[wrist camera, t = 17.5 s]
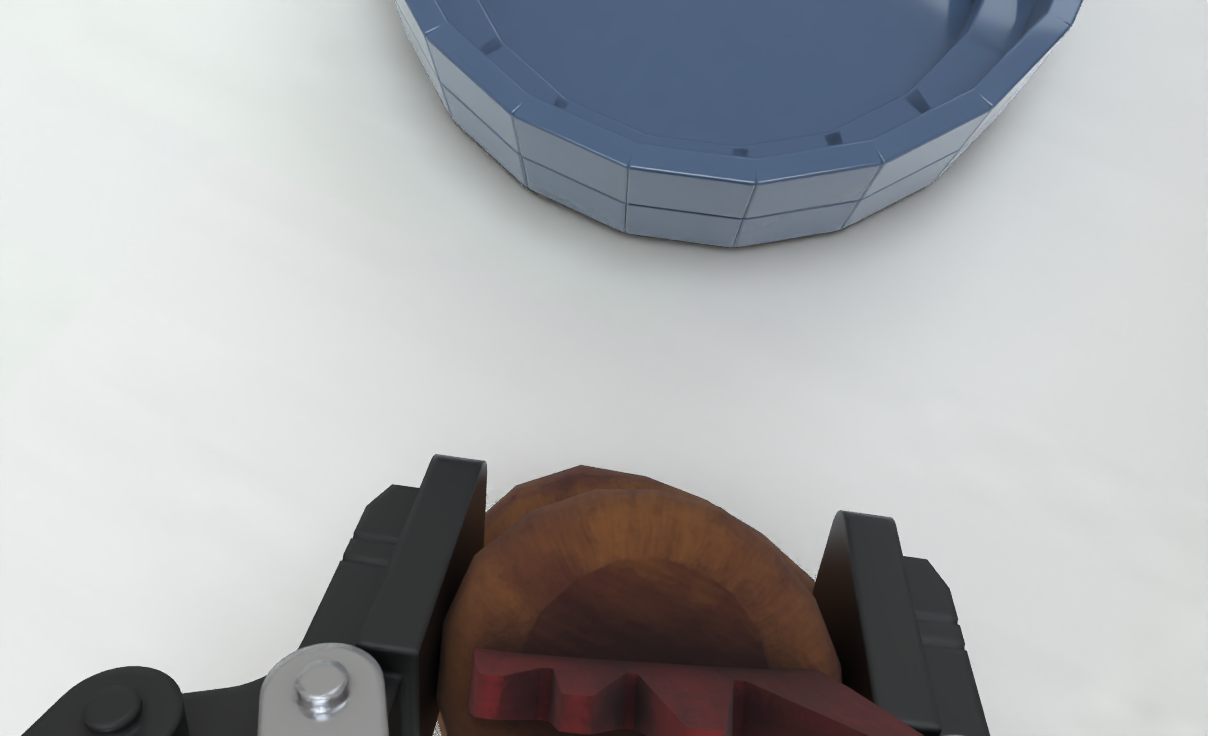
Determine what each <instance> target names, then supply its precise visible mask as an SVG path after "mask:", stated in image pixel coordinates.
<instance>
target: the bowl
mask: <svg viewBox="0 0 1208 736" xmlns="http://www.w3.org/2000/svg"><path fill="white" fill-rule="evenodd" d="M394 1H395V4H396V7H397V9H398V12H399V15H400V18H401V20H402V23H403V26H404V29H405V31H406V34H407V37H408V39H409V41H410V42H411V44H412V46H413V48H414V50H415V52H416V54H417V55H418V57H419V59H420V61H421V63H422V65H423V67H424V69H425V70H426V72H427V74H428V76H429V78H430V80H431V82H432V83H433V85H434V87H435V89H436V91H437V93H438V95H439V96H440V98H441V100H442V102H443V104H444V106H445V108H446V109H447V111H448V113H449V115H450V116H451V117H452V118H453V120H454V121H455V122H456V123H457V124H458V125H459V126H460V127H461V128H462V129H463V130H464V131H465V132H466V133H468V134H469V135H470V136H471V137H472V138H473V139H474V140H475V141H476V142H477V143H478V144H479V145H481V146H482V147H483V148H484V149H485V150H486V151H487V152H488V153H489V154H490V155H491V156H493V157H494V158H495V159H496V160H497V161H498V162H499V163H500V164H501V165H502V166H503V167H504V168H506V169H507V170H508V171H509V172H510V173H511V174H512V175H513V176H514V177H515V178H516V179H517V180H519V181H520V182H521V183H522V184H523V185H524V186H526V187H527V186H528V188H529V189H530V190H532V191H534V192H537V193H539V194H541V195H543V196H545V197H547V198H550V199H552V200H554V201H556V202H558V203H560V204H563V205H565V206H567V207H569V208H571V209H573V210H576V211H578V212H580V213H582V214H584V215H586V216H588V217H591V218H593V219H595V220H597V221H599V222H601V223H604V224H606V225H608V226H610V227H612V228H614V229H617V230H619V231H622V232H624V231H625V232H626V233H627V234H634V235H641V236H649V237H656V238H664V239H671V240H679V241H686V242H694V243H701V244H708V245H716V246H723V247H733V246H734V247H736V248H737V247H743V246H749V245H755V244H761V243H767V242H773V241H779V240H785V239H791V238H797V237H803V236H809V235H815V234H821V233H827V232H833V231H838V230H840V229H844V228H846V227H848V226H850V225H852V224H854V223H856V222H858V221H860V220H862V219H864V218H866V217H867V216H869V215H871V214H873V213H875V212H877V211H879V210H881V209H883V208H885V207H887V206H889V205H891V204H893V203H895V202H897V201H899V200H901V199H902V198H904V197H906V196H908V195H910V194H912V193H914V192H916V191H918V190H920V189H922V188H924V187H926V186H928V185H930V184H932V183H933V182H934V181H936V180H937V179H938V178H939V177H940V176H941V175H942V174H943V173H944V172H945V170H946V169H947V168H948V167H949V166H950V165H951V164H952V163H953V162H954V161H955V160H956V159H957V158H958V157H959V156H960V155H961V154H962V153H963V152H964V151H965V150H966V149H967V148H968V147H969V145H970V144H971V143H972V142H973V141H974V140H975V139H976V138H977V137H978V136H979V135H980V134H981V133H982V132H983V131H984V130H985V129H986V128H987V127H988V126H989V125H990V124H991V123H992V122H993V120H994V119H995V118H996V117H997V116H998V115H999V114H1000V113H1001V112H1002V111H1003V110H1004V108H1005V107H1006V106H1007V105H1008V104H1009V102H1010V101H1011V100H1012V99H1013V98H1014V96H1015V95H1016V94H1017V93H1018V92H1019V90H1020V89H1021V88H1022V87H1023V86H1024V84H1025V83H1026V82H1027V81H1028V79H1029V78H1030V77H1031V76H1032V74H1033V73H1034V72H1035V71H1036V70H1037V68H1038V67H1039V66H1040V65H1041V64H1042V62H1043V61H1044V60H1045V59H1046V58H1047V56H1048V55H1049V54H1050V53H1051V52H1052V50H1053V49H1054V48H1055V47H1056V45H1057V44H1058V43H1059V42H1060V41H1061V39H1062V38H1063V37H1064V36H1065V35H1066V33H1067V32H1068V31H1069V29H1070V28H1071V27H1072V25H1073V23H1074V21H1075V19H1076V16H1077V14H1078V12H1079V9H1080V7H1081V5H1082V2H1083V0H394Z"/></svg>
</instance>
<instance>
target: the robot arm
mask: <svg viewBox="0 0 1208 736" xmlns="http://www.w3.org/2000/svg"><path fill="white" fill-rule="evenodd" d="M486 485H487V464H486V461H481V460H474V459H467V458H460V457H453V456H446V455H439V454H435V455H434V456H433V458H432V460H431V462H430V464H429V467H428V469H427V471H426V474H425V476H424V479H423V481H422V484H421V486H420V488H415V487H408V486H401V485H394V484H392V485H391V486H390V487H389V488H387V489H386V490H385V491H384V492H383V493H381V494H380V495H379V496H378V497H377V498H375V499H374V500H373V501H372V502H371V503H370V504H368V505H367V506H366V508H365V510H364V512H363V514H362V517H361V519H360V521H359V523H358V525H357V527H356V529H355V531H354V536H353V539H352V538H351V540H350V542H349V544H348V546H347V548H346V550H345V552H344V555H343V560H342V561H340V563H339V565H338V567H337V569H336V571H335V574H334V576H333V578H332V580H331V582H330V584H329V586H328V588H327V590H326V593H325V595H324V597H323V599H322V601H321V603H320V605H319V607H318V609H317V612H316V614H315V616H314V618H313V620H312V622H311V624H310V626H309V628H308V631H307V633H306V635H305V637H304V639H303V641H302V643H301V644H300V646H299V648H298V649H297V651H295V652H293V653H291V654H289V655H288V656H286V657H285V658H283V659H282V660H281V661H280V662H278V663H277V664H276V665H275V666H274V667H273V668H272V670H271V671H270V672H269V673H268V675H266V676H265V677H262V678H260V679H258V680H255V681H253V682H250V683H247V684H243V685H240V686H235V687H229V688H222V689H214V690H207V691H199V692H191V693H183V694H182V693H181V691H180V688H179V686H178V685H177V684H176V682H175V681H174V680H173V679H172V678H171V677H170V676H168V675H167V674H165V673H163V672H161V671H159V670H156V669H153V668H149V667H141V666H127V667H120V668H115V669H111V670H107V671H104V672H101V673H98V674H96V675H93V676H91V677H89V678H87V679H85V680H83V681H82V682H80V683H79V684H77V685H76V686H74V687H73V688H71V689H70V690H69V691H68V692H67V693H65V694H64V695H63V696H62V697H61V698H60V699H59V700H58V701H57V702H56V703H55V704H54V705H53V706H52V707H51V708H50V709H48V710H47V711H46V712H45V713H44V714H43V715H42V716H41V717H40V718H39V719H38V720H37V721H36V722H35V723H34V724H33V725H32V726H31V727H30V728H29V729H28V730H27V731H26V732H25V733H23V734H22V735H21V736H432V735H433V732H434V729H435V725H436V722H437V718H438V715H439V712H440V708H439V705H438V702H437V698H436V694H437V683H438V672H439V661H440V650H441V639H442V628H443V620H444V618H445V616H446V614H447V612H448V610H449V608H450V606H451V603H452V601H453V599H454V597H455V595H456V593H457V591H458V589H459V587H460V585H461V582H462V580H463V578H464V576H465V574H466V572H467V570H468V568H469V566H470V563H471V561H472V559H473V557H474V555H475V554H476V553H478V552H479V551H480V550H481V549H483V548H484V532H485V509H486ZM812 595H813V596H814V597H815V599H816V601H817V604H818V607H819V609H820V612H821V614H822V617H823V620H824V622H825V625H826V627H827V630H828V633H829V635H830V638H831V640H832V643H833V646H834V648H835V651H836V653H837V656H838V659H839V661H840V664H841V666H842V684H844V685H845V686H847V687H849V688H850V689H852V690H854V691H855V692H857V693H858V694H860V695H861V696H863V697H864V698H866V699H868V700H869V701H871V702H872V703H874V704H875V705H877V706H879V707H880V708H882V709H883V710H885V711H886V712H888V713H889V714H891V715H893V716H894V717H896V718H897V719H899V720H900V721H902V722H904V723H905V724H907V725H908V726H910V727H911V728H913V729H914V730H916V731H918V732H919V733H921V734H922V735H924V736H990V734H989V730H988V726H987V723H986V719H985V716H984V712H983V708H982V705H981V701H980V697H979V694H978V690H977V686H976V683H975V679H974V675H973V672H972V668H971V665H970V661H969V657H968V654H967V651H966V650H964V646H965V643H964V639H963V635H962V632H961V628H960V625H958V624H957V622H958V617H957V614H956V610H955V606H954V603H953V599H952V595H951V592H950V588H949V587H948V586H947V585H946V583H945V582H944V581H943V579H942V578H941V577H940V575H939V574H938V573H937V572H936V570H935V569H934V568H933V566H932V565H931V564H930V563H929V561H928V560H927V559H920V558H913V557H906V556H903V554H902V550H901V546H900V541H899V537H898V532H897V528H896V524H895V521H894V520H893V518H891V517H884V516H877V515H870V514H863V513H856V512H849V511H842V510H840V511H838V512H837V514H836V515H835V518H834V521H833V524H832V527H831V530H830V534H829V537H828V541H827V544H826V548H825V551H824V554H823V558H822V561H821V565H820V568H819V571H818V575H817V578H816V582H815V585H814V589H813V593H812Z"/></svg>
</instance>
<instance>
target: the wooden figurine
mask: <svg viewBox="0 0 1208 736" xmlns="http://www.w3.org/2000/svg"><path fill="white" fill-rule="evenodd" d="M814 585H815V582H814V580H813V579H812V578H811V577H810V576H809V575H808V574H807V573H805V572H804V571H803V570H802V569H801V568H800V567H799V566H798V565H797V564H795V563H794V562H793V561H792V560H791V559H790V558H789V557H788V556H787V555H785V554H784V553H783V552H782V551H781V550H780V549H779V548H778V547H777V546H775V545H774V544H773V543H772V542H771V541H770V540H769V539H768V538H767V537H765V536H764V535H763V534H762V533H760V532H759V531H757V530H755V529H754V528H752V527H750V526H749V525H747V524H745V523H744V522H742V521H740V520H739V519H737V518H735V517H734V516H732V515H730V514H729V513H727V512H726V511H725V510H723V509H722V508H720V507H718V506H715V505H714V504H712V503H710V502H709V501H707V500H705V499H702V498H700V497H697V496H695V495H692V494H690V493H687V492H684V491H682V490H679V489H677V488H674V487H672V486H669V485H666V484H664V483H661V482H659V481H656V480H654V479H651V478H648V477H646V476H640V475H635V474H629V473H623V472H618V471H612V470H606V469H601V468H595V467H589V466H583V465H580V466H577V467H573V468H570V469H567V470H564V471H561V472H558V473H554V474H551V475H548V476H545V477H542V478H539V479H535V480H532V481H529V482H526V483H523V484H520V485H516V486H515V487H514V488H513V489H512V490H511V491H510V492H509V493H507V494H506V495H505V496H504V497H503V498H502V499H501V500H499V501H498V502H497V503H496V504H495V505H494V506H493V507H491V508H490V509H489V510H488V511H487V512H486V513H485V532H484V548H483V549H481V550H480V551H479V552H478V553H476V554H475V555H474V557H473V559H472V561H471V563H470V566H469V568H468V570H467V572H466V574H465V576H464V578H463V580H462V582H461V585H460V587H459V589H458V591H457V593H456V595H455V597H454V599H453V601H452V603H451V606H450V608H449V610H448V612H447V614H446V616H445V618H444V620H443V628H442V639H441V650H440V661H439V672H438V683H437V694H436V698H437V702H438V705H439V708H440V712H439V715H438V718H437V720H438V723H439V727H440V730H441V733H442V736H924V735H922V734H921V733H919V732H918V731H916V730H914V729H913V728H911V727H910V726H908V725H907V724H905V723H904V722H902V721H900V720H899V719H897V718H896V717H894V716H893V715H891V714H889V713H888V712H886V711H885V710H883V709H882V708H880V707H879V706H877V705H875V704H874V703H872V702H871V701H869V700H868V699H866V698H864V697H863V696H861V695H860V694H858V693H857V692H855V691H854V690H852V689H850V688H849V687H847V686H845V685H844V684H842V666H841V664H840V661H839V659H838V656H837V653H836V651H835V648H834V646H833V643H832V640H831V638H830V635H829V633H828V630H827V627H826V625H825V622H824V620H823V617H822V614H821V612H820V609H819V607H818V604H817V601H816V599H815V597H814V596H813V595H812V593H813V589H814Z"/></svg>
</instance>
